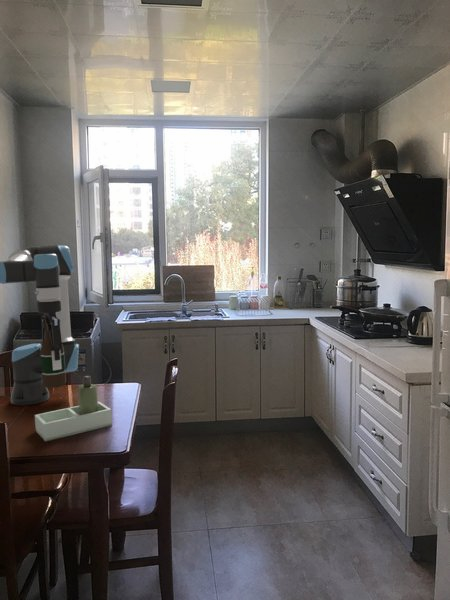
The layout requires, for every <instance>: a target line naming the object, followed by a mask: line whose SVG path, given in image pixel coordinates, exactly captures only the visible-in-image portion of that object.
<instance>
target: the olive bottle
mask: <svg viewBox="0 0 450 600" xmlns="http://www.w3.org/2000/svg"><path fill="white" fill-rule="evenodd" d="M82 381H83V382H82V384H81V385H80V386H78V387H77V393H78V394H77V396H78V406H79V412H80V415H84V414H88V413H93V412H97V411H98V402H99V400H98V386H97V384H94V383H93V384H92V379H91V375H84V376H82Z"/></svg>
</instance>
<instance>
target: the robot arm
mask: <svg viewBox="0 0 450 600" xmlns="http://www.w3.org/2000/svg"><path fill="white" fill-rule="evenodd" d="M74 272H75V268H74V263H73V259H72V253H71V250H70V247H68V246H67V245H59V244H58V245H57V244H56V245H35V246H34V245H32V246H27V247H23V248H20V249H17V250H15V251H13V252H11V254H9V256H8V258H7V260H4V261H2V260H1V261H0V284H1V285H2V284H3V285H5V284H15V283H35V290H36V291H35V290H34V294H35V295H36V300H37V302H36V308H37V313H38V314H43V315H41V317H40V322H41V337H42V341H41V343H42V344H43V342H44V340H45V324H46V326H47V331H49V334H50V339H51V344H52V349H51V350H50V351H51V352H52V365H53V370H59V369H62V365H61V351H60V350H61V349H62V345H63V347H64V356H65V370H66V374H67V373H71V372H75V371H77V369H78V365H79V354H80V352H79V349H80V344H79V343H76V339H75V338H73V336H72V328H71V314H70V300H69V298H70V297H69V283H68V282H69V280H70V278H71V277H72V273H74ZM45 316H48V318H46V319H44V317H45ZM41 343H30V344H26V345H25V344H24V345H21V346H18V347H16V348H15V349H13V350H12V352H11V363H12V373H13V374H12V375H13V387H12V390H11V396H10V404H11V405H13V406H32V405H37V404H42V403H44V402H46V401H48V400H50V391H49V388H46V387H44V386H43V380H42V367H41V346H42V344H41ZM57 345H58V346H57Z"/></svg>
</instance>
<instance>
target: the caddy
mask: <svg viewBox="0 0 450 600" xmlns="http://www.w3.org/2000/svg"><path fill="white" fill-rule="evenodd" d="M112 415H113V413H112V409H111V408H110V407H108V406H106V405H105V404H104V403H102V402H101V401H98V411H97V412H93V413H88V414H84V415H80V412H79V405H76V406H71V407H66V408H62V409H61V408H60V409H57V410H51V411H47V412H42V413H38V414H34V425H35V432H36V433H37V434H38V435H39V436H40V438H41V439H42V440H43V441H44V442H48V441H54V440H58V439H61V438H66V437H69V436H74V435H78V434H81V433H85V432H90V431H94V430H98V429H102V428H106V427H110V426H113V416H112Z"/></svg>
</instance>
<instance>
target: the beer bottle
mask: <svg viewBox="0 0 450 600" xmlns="http://www.w3.org/2000/svg"><path fill="white" fill-rule="evenodd" d="M46 318H48V316H45V317H44V319H46ZM41 345H42V346H41V367H42V380H43V386H44V387H46V388H47V389H55V388H61V387H63V386H66V383H67V373H66V370H65V356H64V347H63V345H62V349H61V350H60V351H61V365H62V369H59V370H53V365H52V352H51V351H50V350H51V349H52V344H51V339H50V334H49V331H47V326H46V324H45V340H44V342H43V343H42V344H41ZM57 346H58V345H57Z"/></svg>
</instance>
